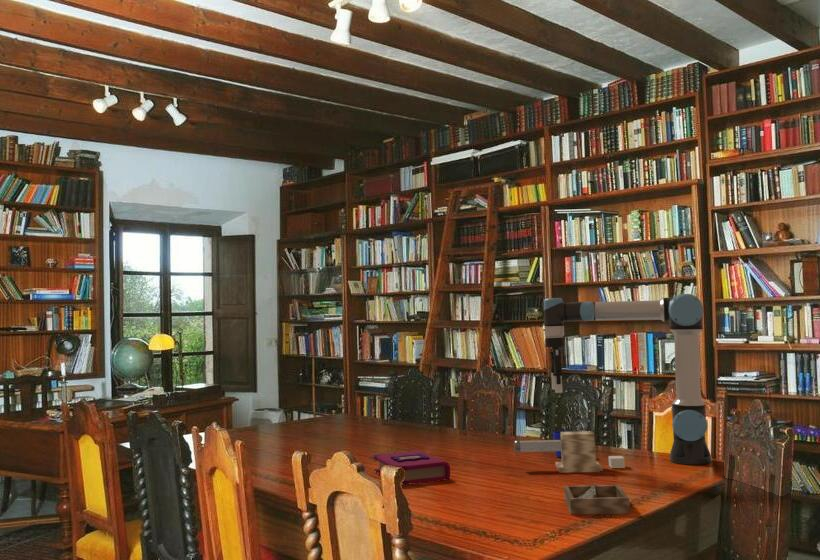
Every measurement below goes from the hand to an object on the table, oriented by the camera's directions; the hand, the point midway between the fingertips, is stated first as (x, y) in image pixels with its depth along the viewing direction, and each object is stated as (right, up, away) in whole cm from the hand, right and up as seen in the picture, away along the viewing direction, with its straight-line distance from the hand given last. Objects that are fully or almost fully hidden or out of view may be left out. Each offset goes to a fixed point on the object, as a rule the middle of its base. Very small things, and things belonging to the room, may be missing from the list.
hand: (557, 391), depth 293 cm
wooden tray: (-1, -25, -66) cm, 71 cm away
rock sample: (-4, -26, -64) cm, 70 cm away
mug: (+8, -29, +14) cm, 33 cm away
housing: (+6, -28, -10) cm, 30 cm away
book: (-58, -31, -11) cm, 67 cm away
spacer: (+20, -24, -10) cm, 33 cm away
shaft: (-4, -22, -9) cm, 24 cm away
